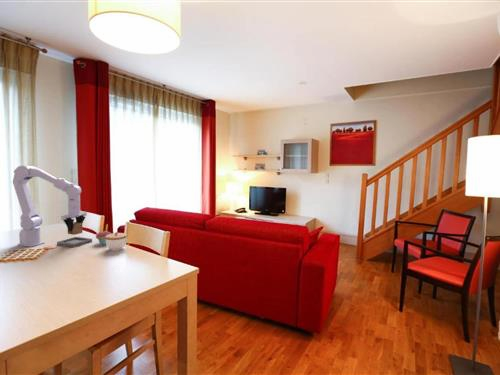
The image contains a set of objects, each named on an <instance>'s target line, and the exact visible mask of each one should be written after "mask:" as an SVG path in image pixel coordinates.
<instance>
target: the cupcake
mask: <svg viewBox="0 0 500 375" xmlns="http://www.w3.org/2000/svg"><path fill="white" fill-rule="evenodd" d="M108 226H109V225H108V223H107V224H106V226H105V230H103V231H100V232H98V233H97V234H96V235H95V238H96V239H98V242H99V244H100V245H106V241H105V236H106V235H108V234H112V232H111V231H108Z"/></svg>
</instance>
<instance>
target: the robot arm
mask: <svg viewBox="0 0 500 375" xmlns="http://www.w3.org/2000/svg"><path fill="white" fill-rule="evenodd" d="M13 173H14V175H13V179H12V185H13V187H14V191H15V193H16V197H17V200H18V203H19V206H20V209H21V212H22V214H21V216H20V227H21V230H20V231H19V233H18V237H19V243H17V245H18V246H21V247H22V246H25V247H29V248H30V247H34V246H39V245H42V244H45V241H41V240H42V238H41V225H42V224H43V218H42V217H41V215H40V214H39V212H38V211H36V209H35V206H34V203H33V200H32V196H31V194H30V190H29V188H28V184H27V183H29V181H30V180H31V179H34V178H35V177H37V178H40V179H42V180H44V181H47V182H49V183H51V184H53V187H55V188H56V189H58V190H60V191H62V192H64V193H65V194H66V195H67V203H68V205H67V206H68V208H67V210H68V213H67V214H64V215H61V217H60V218H61V220H63V222H64V223H65V225H66V227H67V232H68V231H72V229H73V222H81V223H82V224H83V223H84V221H85V219H86V216H88V214H87V211H86V212H85V211H81V193H82V188H81V186H79V184H74V183H73V182H69V181H67V180H66V178H62V177H59V178H57V177H55V176H54V175H51V174H50V173H48V172H46V171H45V170H43V169H41V168H39V167H36V166H35V165H18V166H17V167H15V169H14V170H13ZM73 218H75V219H73Z"/></svg>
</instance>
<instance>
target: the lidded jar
mask: <svg viewBox="0 0 500 375" xmlns="http://www.w3.org/2000/svg"><path fill="white" fill-rule="evenodd" d="M111 233H112V232H111ZM105 241H106V244H105V246H106V247H107V248H108V250H110V251H111V252H117V251H122V250H123V248H124V247H125V246H126V245H127V241H128V234H127V233H124V232H118V231H115V232H113V233H112V234H108V235H106V236H105Z"/></svg>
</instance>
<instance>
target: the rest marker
mask: <svg viewBox="0 0 500 375" xmlns="http://www.w3.org/2000/svg"><path fill="white" fill-rule="evenodd" d="M57 248H58V245H48V246H44V247H43V250H54V249H57Z"/></svg>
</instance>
